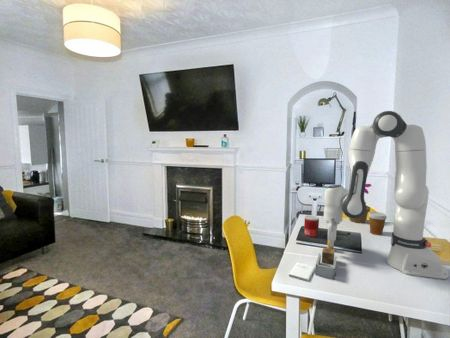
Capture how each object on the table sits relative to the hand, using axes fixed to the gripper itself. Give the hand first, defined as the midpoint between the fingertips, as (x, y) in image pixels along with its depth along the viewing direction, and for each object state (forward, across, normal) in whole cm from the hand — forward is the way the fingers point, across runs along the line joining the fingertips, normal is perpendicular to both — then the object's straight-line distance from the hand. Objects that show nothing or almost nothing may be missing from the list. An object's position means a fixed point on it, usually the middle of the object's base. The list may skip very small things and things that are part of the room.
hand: (332, 242), depth 134 cm
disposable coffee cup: (+5, +37, -23) cm, 44 cm away
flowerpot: (+4, +58, -14) cm, 59 cm away
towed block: (+4, -6, +1) cm, 8 cm away
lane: (+4, -22, +2) cm, 23 cm away
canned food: (+4, +17, +12) cm, 22 cm away
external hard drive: (+5, -28, +11) cm, 30 cm away
